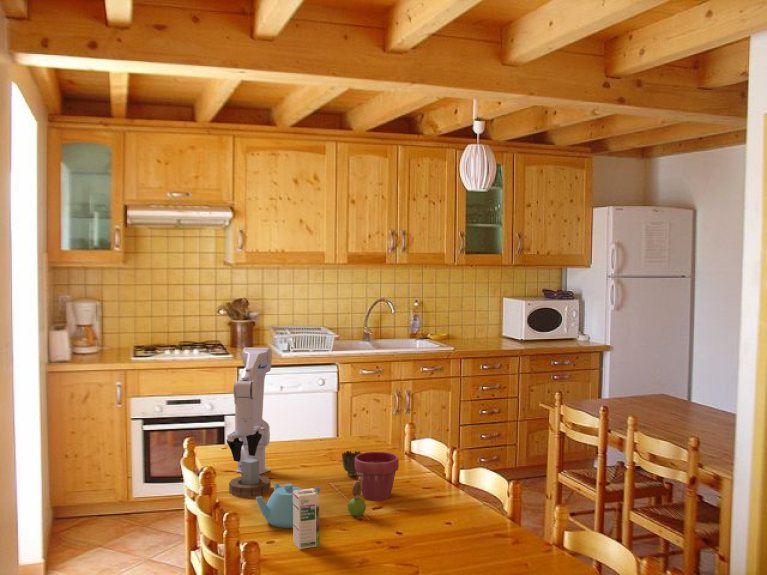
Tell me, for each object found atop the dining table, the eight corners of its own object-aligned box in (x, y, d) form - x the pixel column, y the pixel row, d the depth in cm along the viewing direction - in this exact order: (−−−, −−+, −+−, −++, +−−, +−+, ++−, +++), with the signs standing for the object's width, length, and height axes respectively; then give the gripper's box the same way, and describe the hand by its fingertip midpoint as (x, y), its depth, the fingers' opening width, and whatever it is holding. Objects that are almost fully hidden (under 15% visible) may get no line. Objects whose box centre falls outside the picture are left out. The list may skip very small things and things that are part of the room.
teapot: (252, 526, 215) (252, 489, 215) (274, 509, 230) (274, 474, 229) (301, 533, 211) (301, 495, 210) (321, 515, 225) (321, 479, 225)
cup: (364, 473, 267) (364, 450, 267) (361, 479, 260) (361, 456, 259) (343, 472, 268) (343, 450, 268) (340, 478, 261) (340, 455, 260)
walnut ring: (221, 492, 245) (221, 483, 245) (247, 482, 256) (247, 473, 256) (252, 499, 238) (252, 490, 238) (278, 488, 249) (278, 479, 249)
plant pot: (360, 487, 251) (360, 449, 251) (401, 490, 248) (402, 452, 248) (349, 501, 237) (349, 461, 237) (393, 505, 234) (394, 464, 234)
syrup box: (299, 550, 199) (299, 496, 198) (292, 542, 204) (292, 489, 204) (319, 546, 201) (319, 493, 200) (312, 539, 207) (312, 486, 206)
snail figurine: (369, 512, 227) (369, 473, 227) (361, 520, 221) (362, 479, 221) (352, 510, 229) (353, 471, 229) (344, 517, 223) (345, 477, 222)
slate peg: (241, 491, 246) (241, 461, 246) (249, 488, 250) (249, 458, 249) (250, 493, 244) (250, 463, 244) (258, 490, 248) (259, 460, 247)
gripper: (239, 423, 239) (239, 465, 240) (268, 414, 251) (268, 454, 252) (222, 420, 242) (222, 462, 243) (251, 412, 255) (251, 451, 256)
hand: (244, 458), depth 248 cm, fingers open, 7 cm apart
